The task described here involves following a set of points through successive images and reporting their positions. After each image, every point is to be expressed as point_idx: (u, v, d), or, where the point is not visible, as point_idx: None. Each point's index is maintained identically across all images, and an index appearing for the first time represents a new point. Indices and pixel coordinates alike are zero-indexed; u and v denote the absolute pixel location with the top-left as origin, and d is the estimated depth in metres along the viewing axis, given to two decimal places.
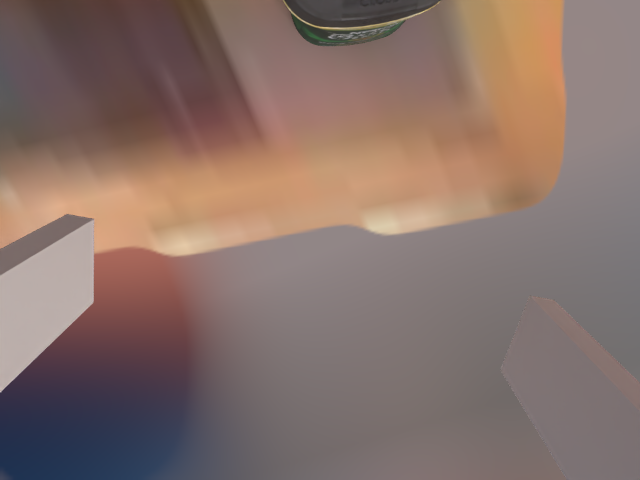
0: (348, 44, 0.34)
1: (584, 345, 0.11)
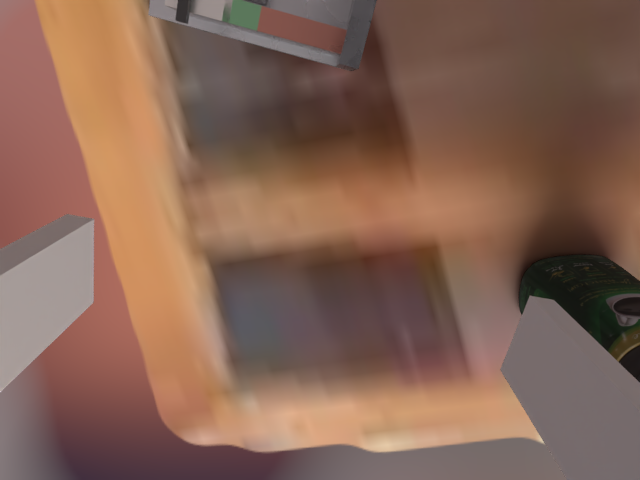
0: None
1: (584, 345, 0.11)
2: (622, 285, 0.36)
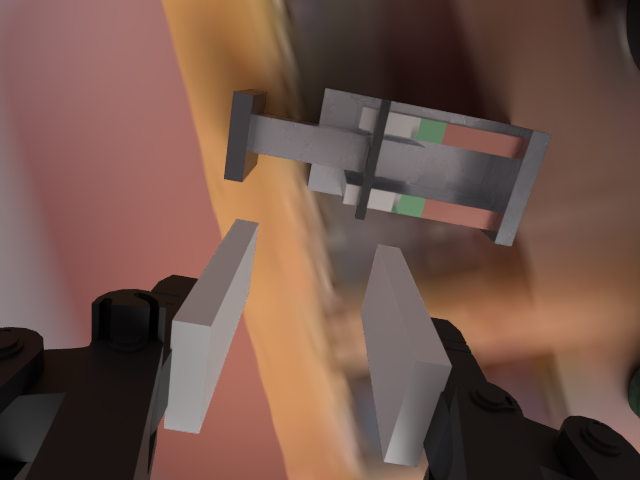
0: None
1: (396, 277, 0.12)
2: None
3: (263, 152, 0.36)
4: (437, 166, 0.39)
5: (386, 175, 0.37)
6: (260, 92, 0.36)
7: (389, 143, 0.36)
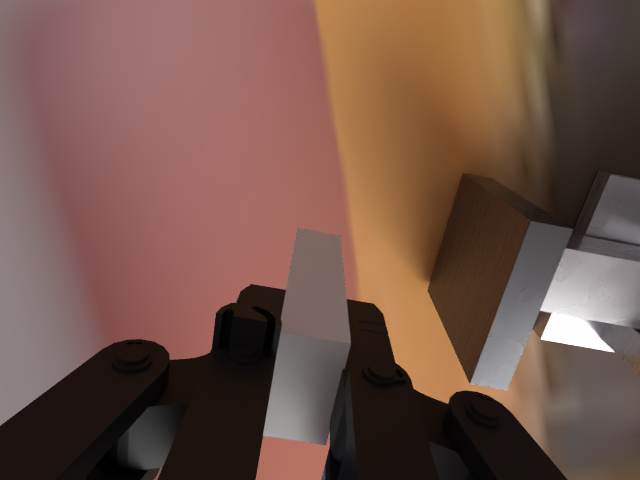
0: None
1: (325, 261, 0.13)
2: None
3: None
4: None
5: None
6: (504, 188, 0.19)
7: None
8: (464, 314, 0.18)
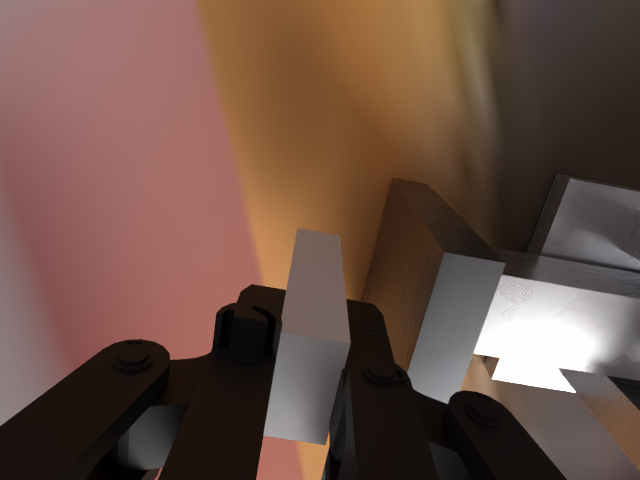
0: None
1: (325, 261, 0.13)
2: None
3: None
4: None
5: None
6: (436, 198, 0.15)
7: None
8: None
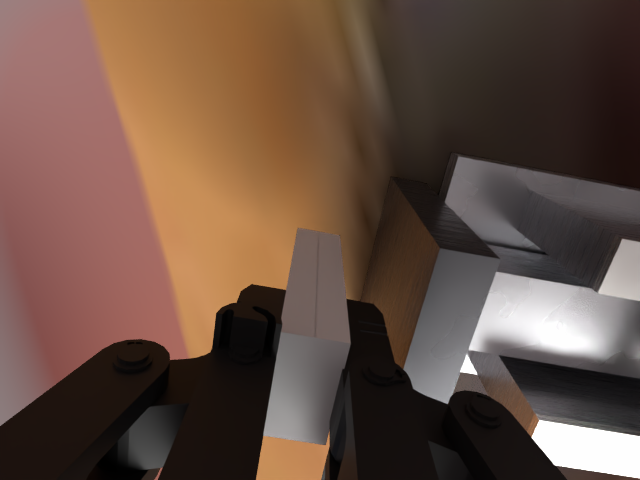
0: None
1: (325, 261, 0.13)
2: None
3: None
4: None
5: None
6: (434, 196, 0.15)
7: None
8: None
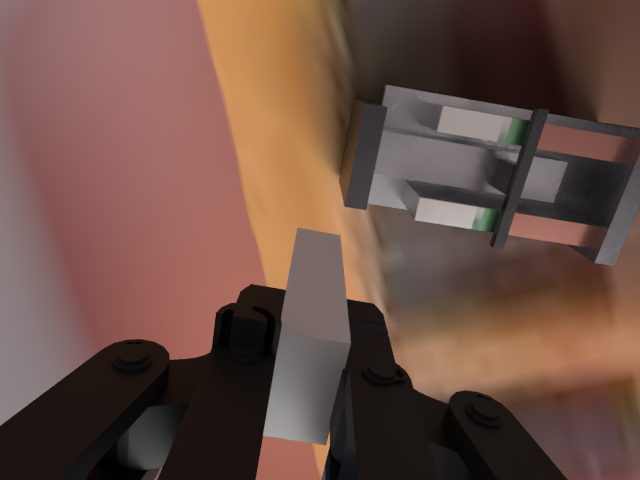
0: None
1: (325, 261, 0.13)
2: None
3: (377, 172, 0.31)
4: None
5: None
6: None
7: None
8: (346, 175, 0.29)
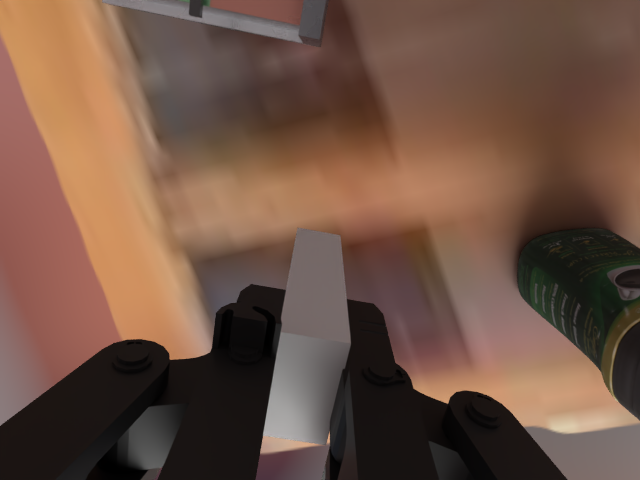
0: None
1: (325, 261, 0.13)
2: (624, 257, 0.33)
3: None
4: None
5: None
6: None
7: None
8: None
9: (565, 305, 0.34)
